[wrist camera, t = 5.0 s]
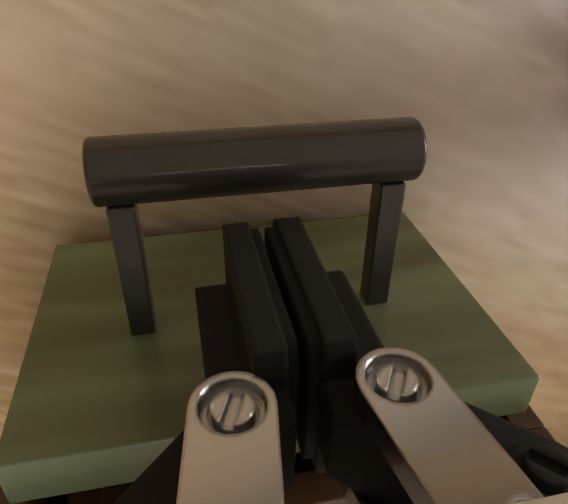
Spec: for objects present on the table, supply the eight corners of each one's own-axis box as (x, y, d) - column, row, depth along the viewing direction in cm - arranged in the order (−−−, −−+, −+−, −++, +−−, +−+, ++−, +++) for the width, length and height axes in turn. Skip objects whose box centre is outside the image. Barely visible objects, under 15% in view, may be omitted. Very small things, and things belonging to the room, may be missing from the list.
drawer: (11, 83, 13) (-122, 244, 7) (426, 65, 15) (622, 176, 9) (128, 508, 24) (119, 726, 17) (363, 464, 26) (431, 645, 19)
